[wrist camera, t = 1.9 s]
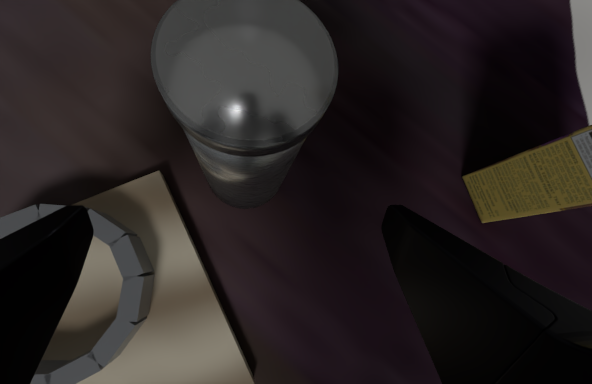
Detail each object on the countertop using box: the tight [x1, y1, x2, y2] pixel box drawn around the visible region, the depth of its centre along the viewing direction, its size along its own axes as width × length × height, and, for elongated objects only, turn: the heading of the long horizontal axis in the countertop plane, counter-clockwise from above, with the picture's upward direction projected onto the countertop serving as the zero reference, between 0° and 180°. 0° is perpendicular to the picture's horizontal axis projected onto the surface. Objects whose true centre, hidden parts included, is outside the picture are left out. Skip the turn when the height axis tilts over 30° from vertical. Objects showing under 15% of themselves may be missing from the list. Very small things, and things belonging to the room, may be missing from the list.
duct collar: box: [0, 204, 155, 384], centre depth 16 cm, size 9×9×2 cm
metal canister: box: [151, 0, 338, 209], centre depth 15 cm, size 6×6×12 cm
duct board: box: [42, 171, 254, 384], centre depth 17 cm, size 14×14×1 cm
